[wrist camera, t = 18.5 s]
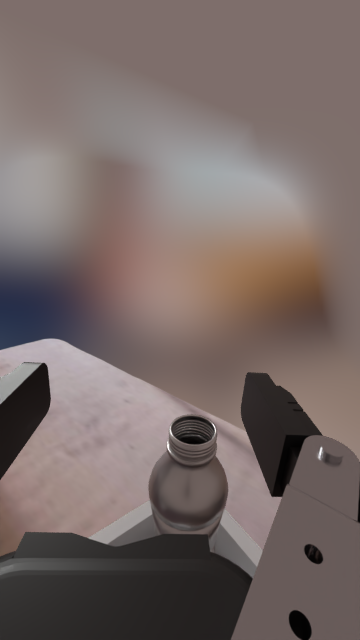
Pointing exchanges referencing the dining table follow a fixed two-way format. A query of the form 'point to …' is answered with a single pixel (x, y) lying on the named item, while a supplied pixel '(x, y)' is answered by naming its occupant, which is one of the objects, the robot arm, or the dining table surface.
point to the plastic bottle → (189, 481)
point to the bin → (141, 526)
